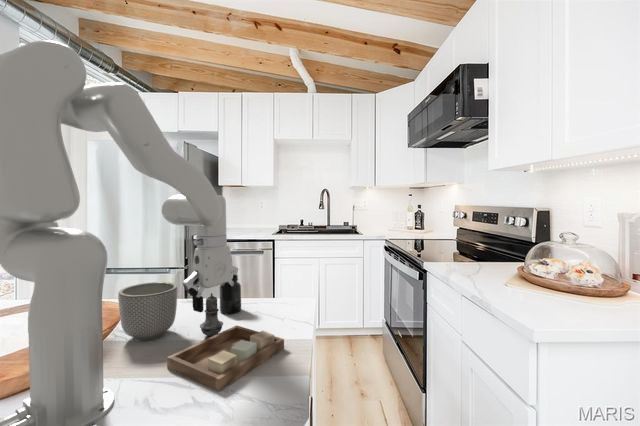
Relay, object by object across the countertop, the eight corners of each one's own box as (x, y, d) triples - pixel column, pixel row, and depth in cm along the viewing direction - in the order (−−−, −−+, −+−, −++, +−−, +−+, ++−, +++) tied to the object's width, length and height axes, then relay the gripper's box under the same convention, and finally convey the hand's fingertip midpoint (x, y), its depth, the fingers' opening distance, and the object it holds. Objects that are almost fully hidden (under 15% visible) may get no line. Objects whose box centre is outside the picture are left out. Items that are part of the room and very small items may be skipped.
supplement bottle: (237, 306, 108) (237, 272, 107) (244, 312, 102) (244, 275, 102) (217, 310, 104) (216, 274, 103) (223, 316, 98) (223, 278, 98)
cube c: (261, 357, 71) (261, 340, 71) (249, 352, 73) (249, 335, 73) (274, 351, 74) (274, 334, 74) (262, 346, 77) (262, 330, 76)
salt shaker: (215, 343, 79) (215, 297, 79) (195, 341, 80) (194, 295, 80) (227, 334, 85) (227, 290, 84) (207, 332, 86) (207, 289, 86)
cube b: (246, 369, 66) (246, 351, 66) (230, 365, 67) (230, 347, 67) (256, 360, 70) (256, 343, 70) (241, 357, 71) (241, 340, 71)
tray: (219, 394, 58) (219, 379, 58) (167, 370, 66) (167, 357, 66) (284, 351, 75) (284, 339, 75) (236, 336, 84) (236, 325, 83)
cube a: (221, 384, 61) (221, 363, 61) (208, 378, 63) (208, 358, 63) (237, 374, 64) (237, 355, 64) (223, 368, 66) (223, 350, 66)
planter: (124, 330, 87) (123, 284, 86) (178, 322, 92) (178, 279, 92) (113, 352, 74) (112, 298, 74) (177, 342, 80) (176, 292, 79)
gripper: (193, 248, 73) (195, 319, 74) (245, 238, 87) (246, 298, 89) (173, 245, 76) (175, 313, 77) (226, 236, 91) (228, 293, 92)
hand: (213, 305), depth 83 cm, fingers open, 9 cm apart
